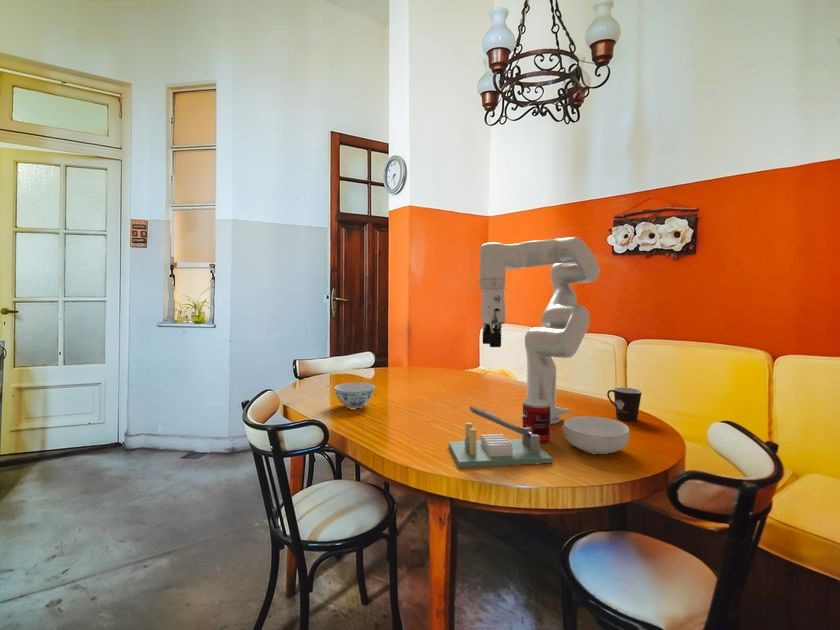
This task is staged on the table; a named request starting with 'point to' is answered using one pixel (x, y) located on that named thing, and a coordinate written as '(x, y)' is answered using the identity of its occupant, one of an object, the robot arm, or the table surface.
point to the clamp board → (497, 461)
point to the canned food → (537, 417)
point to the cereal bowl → (596, 434)
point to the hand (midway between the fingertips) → (491, 344)
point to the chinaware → (354, 394)
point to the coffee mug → (626, 403)
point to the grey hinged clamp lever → (500, 421)
